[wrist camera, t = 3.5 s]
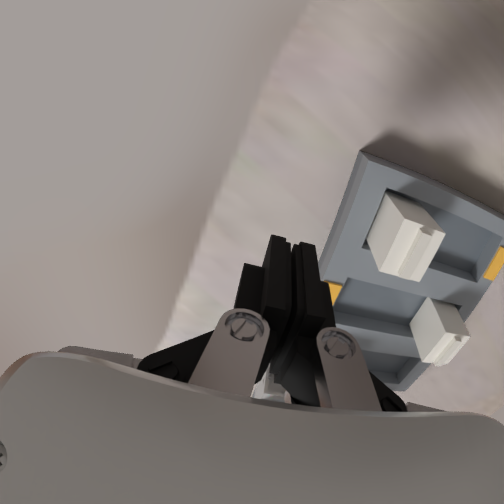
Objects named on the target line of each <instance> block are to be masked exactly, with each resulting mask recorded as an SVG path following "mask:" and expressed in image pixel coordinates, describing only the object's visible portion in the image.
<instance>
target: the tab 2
mask: <svg viewBox="0 0 504 504" xmlns="http://www.w3.org/2000/svg"><path fill="white" fill-rule="evenodd" d="M409 325H410V328H411V331H412V334H413V337H414V340H415V343H416V346H417V349H418V352H419V355H420V358H421V361H422V362H426V363H434V364H435V366H442V365H443V364H446V365H447V364H448V363H449V362H450V360H451V359H452V358H453V357H454V356H455V355H456V354H457V352H458V351H459V350H460V349H461V348H462V346H463V345H464V344H465V343H466V342H467V340H468V339H469V338H470V337H471V336H470V334H469V332H468V330H467V328H466V326H465V324H464V322H463V320H462V318H461V316H460V314H459V312H458V310H457V308H456V307H455V305H454V304H453V303H449V302H445V301H441V300H437V299H433V298H429V297H427V298H426V300H425V301H424V303H423V304H422V306H421V307H420V309H419V310H418V312H417V313H416V315H415V316H414V318H413V319H412V321H411V322H410V323H409Z"/></svg>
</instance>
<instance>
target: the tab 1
mask: <svg viewBox="0 0 504 504" xmlns="http://www.w3.org/2000/svg"><path fill="white" fill-rule="evenodd" d="M445 234H446V233H445V232H444V231H443V230H442V229H441V227H440V226H439V225H438V224H437V223H436V222H435V220H434V219H433V218H432V217H431V216H430V215H429V214H428V212H427V211H426V210H425V209H424V208H423V207H422V206H421V205H420V203H418V202H415V201H413V200H410V199H407V198H405V197H402V196H399V195H397V194H394V193H391V192H388V191H385V193H384V195H383V198H382V200H381V203H380V205H379V208H378V210H377V213H376V215H375V217H374V220H373V222H372V224H371V227H370V229H369V232H368V234H367V236H366V239H367V242H368V244H369V247H370V249H371V252H372V254H373V257H374V259H375V262H376V265H377V267H378V270H379V271H380V272H383V273H387V274H391V275H394V276H398V277H400V278H404V279H407V280H413V281H417V282H420V280H421V279H422V277H423V275H424V273H425V272H426V270H427V268H428V266H429V265H430V263H431V261H432V259H433V257H434V255H435V254H436V252H437V250H438V248H439V246H440V244H441V242H442V240H443V238H444V236H445Z"/></svg>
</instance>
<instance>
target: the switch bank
mask: <svg viewBox="0 0 504 504" xmlns="http://www.w3.org/2000/svg"><path fill="white" fill-rule="evenodd" d="M385 191H388V192H391V193H394V194H397V195H399V196H402V197H405V198H407V199H410V200H413V201H415V202H418V203H420V205H421V206H422V207H423V208H424V209H425V210H426V211H427V212H428V214H429V215H430V216H431V217H432V218H433V219H434V220H435V222H436V223H437V224H438V225H439V226H440V227H441V229H442V230H443V231H444V232H445V233H446V234H445V236H444V238H443V240H442V242H441V244H440V246H439V248H438V250H437V252H436V254H435V255H434V257H433V259H432V261H431V263H430V265H429V266H428V268H427V270H426V272H425V273H424V275H423V277H422V279H421V280H420V282H417V281H413V280H407V279H404V278H400V277H398V276H394V275H391V274H387V273H383V272H380V271H379V270H378V267H377V265H376V262H375V259H374V257H373V254H372V252H371V249H370V247H369V244H368V242H367V239H366V236H367V234H368V232H369V229H370V227H371V224H372V222H373V220H374V217H375V215H376V213H377V210H378V208H379V205H380V203H381V200H382V198H383V195H384V193H385ZM503 264H504V215H503V214H501V213H499V212H497V211H495V210H494V209H492V208H490V207H488V206H486V205H484V204H483V203H481V202H479V201H477V200H475V199H473V198H471V197H469V196H467V195H465V194H463V193H461V192H459V191H457V190H455V189H453V188H450V187H448V186H446V185H444V184H442V183H440V182H438V181H435V180H433V179H431V178H429V177H426V176H424V175H422V174H419V173H417V172H414V171H412V170H410V169H407V168H405V167H402V166H400V165H397V164H395V163H392V162H389V161H387V160H384V159H381V158H379V157H376V156H373V155H371V154H368V153H365V152H362V151H359V153H358V156H357V159H356V162H355V165H354V168H353V171H352V174H351V177H350V180H349V182H348V185H347V188H346V191H345V194H344V197H343V199H342V202H341V205H340V208H339V210H338V213H337V216H336V218H335V221H334V224H333V226H332V229H331V232H330V234H329V237H328V240H327V242H326V245H325V247H324V250H323V252H322V255H321V257H320V260H319V262H318V267H319V273H320V280H321V281H324V282H327V283H328V284H329V287H330V293H331V299H332V305H333V311H334V317H335V323H336V328H340V329H343V330H345V331H347V332H348V333H350V334H351V335H352V336H353V337H354V338H355V339H356V340H357V342H358V344H359V346H360V349H361V351H362V354H363V357H364V359H365V362H366V365H367V368H368V370H369V371H370V372H371V373H372V374H373V375H375V376H376V377H377V378H378V379H379V380H380V381H382V382H383V383H384V384H385V385H386V386H387V387H388V388H390V389H391V390H393V391H406V390H407V389H408V388H409V387H410V386H411V384H412V383H413V382H414V381H415V380H416V379H417V378H418V377H419V376H420V375H421V374H422V373H423V372H424V371H425V370H426V368H427V367H428V366H429V365H430V364H431V363H426V362H422V361H421V358H420V355H419V352H418V349H417V346H416V343H415V340H414V337H413V334H412V331H411V328H410V325H409V323H410V322H411V321H412V319H413V318H414V316H415V315H416V313H417V312H418V310H419V309H420V307H421V306H422V304H423V303H424V301H425V300H426V298H427V297H429V298H433V299H437V300H441V301H445V302H449V303H453V304H454V305H455V307H456V308H457V310H458V312H459V314H460V316H461V318H462V320H463V322H465V321H466V319H467V318H468V317H469V315H470V314H471V312H472V311H473V310H474V308H475V307H476V305H477V304H478V302H479V301H480V299H481V298H482V297H483V295H484V293H485V292H486V290H487V289H488V287H489V286H490V284H491V283H492V281H493V280H494V279H495V277H496V276H497V274H498V272H499V271H500V269H501V267H502V265H503Z"/></svg>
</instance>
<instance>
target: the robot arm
mask: <svg viewBox="0 0 504 504" xmlns="http://www.w3.org/2000/svg"><path fill="white" fill-rule="evenodd" d="M269 363H270V367H269V373H271V374H274V383H276V384H280V385H281V386H282V387H283V388H284V389H285V390H286V391H285V396H284V399H285V403H282V402H276V401H269V400H263V399H258V398H252V397H250V396H251V393H252V390H253V386H254V384H256V383H258V382H259V381H261V379H262V377H263V375H264V373H265V372H266V370H267V368H268V366H269ZM0 504H504V426H503V424H501V423H500V422H499V421H497V420H495V419H493V418H491V417H488V416H486V415H482V414H478V413H472V412H451V411H444V410H439V409H435V408H431V407H427V406H422V405H418V404H414V403H411V402H407V403H406V404H405V403H404V402H403V400H402V399H401V398H400V397H399V396H398V395H397V394H395V393H394V392H393V391H392V390H391V389H390V388H388V387H387V386H386V385H385V384H384V383H383V382H382V381H380V380H379V379H378V378H377V377H376V376H375V375H373V374H372V373H371V372H370V371H369V370H368V368H367V365H366V362H365V359H364V357H363V354H362V351H361V349H360V346H359V344H358V342H357V340H356V339H355V338H354V337H353V336H352V335H351V334H350V333H348V332H347V331H345V330H343V329H340V328H336V323H335V317H334V311H333V305H332V299H331V293H330V287H329V284H328V283H327V282H324V281H321V280H320V273H319V267H318V260H317V254H316V248H315V245H312V244H308V243H304V242H300V243H299V245H297V244H294V246H293V248H292V251H291V243H289V242H286V238H284V237H280V236H276V235H271V237H270V241H269V244H268V248H267V251H266V255H265V258H264V262H263V265H262V267H259V266H255V265H251V264H247V263H244V266H243V270H242V274H241V278H240V283H239V287H238V291H237V295H236V300H235V304H234V309H232V310H229V311H227V312H225V313H224V314H223V315H222V317H221V318H220V320H219V322H218V324H217V326H216V328H215V330H213V331H211V332H208V333H205V334H203V335H200V336H198V337H195V338H193V339H190V340H188V341H185V342H182V343H180V344H177V345H174V346H172V347H169V348H166V349H164V350H161V351H158V352H156V353H153V354H150V355H149V356H147V357H145V358H144V359H138V358H133V355H132V354H124V353H117V352H109V351H102V350H96V349H90V348H83V347H77V346H68V347H65V348H62V349H60V350H59V351H58V352H50V351H48V352H37V353H31V354H28V355H25V356H23V357H21V358H20V359H18V360H17V361H15V362H14V363H13V364H12V365H11V366H10V367H9V368H8V369H7V370H6V371H5V372H4V374H3V375H2V376H1V377H0Z"/></svg>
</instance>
